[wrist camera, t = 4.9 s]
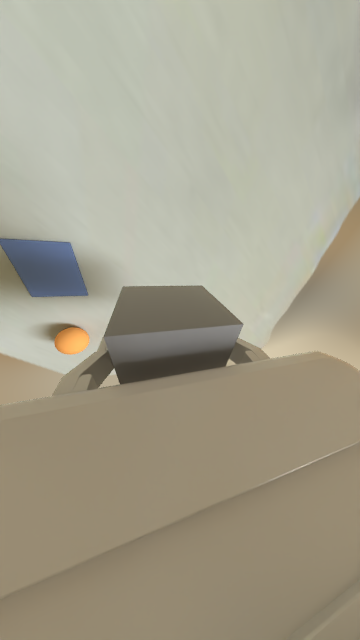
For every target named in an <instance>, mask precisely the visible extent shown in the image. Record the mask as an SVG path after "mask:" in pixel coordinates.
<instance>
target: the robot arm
mask: <svg viewBox="0 0 360 640" xmlns="http://www.w3.org/2000/svg"><path fill="white" fill-rule="evenodd" d="M229 359H230V360H231V361H233V362H234V363H235V364H237V365H231V366H225V367H219V368H213V369H208V370H202V371H196V372H190V373H184V374H179V375H173V376H167V377H161V378H155V379H149V380H144V381H138V382H132V383H126V384H120V385H115V386H109V387H103V388H98V387H99V386H100V384H102V382H103V381H104V380H105V379H106V377H107V376H108V375H109V374H110V373H111V371H112V370H113V369H114V365H113V362H112V360H111V357H110V354H109V351H108V348H107V345H106V342H105V340H104V337H103V338H102V341H101V343H100V346H99V348H98V351H97V352H94V353H93V354H92V355H91V356H89V357H88V358H87V359H85V360H84V361H83V362H82V363H80V364H79V365H78V366H76V367H75V368H74V369H73V370H71V371H70V372H69V373H67V374H66V375H65V376H64V377H62V379H61V381H60V382H59V384H58V386H57V388H56V389H55V391H54V393H53V395H52V396H51V397H45V398H39V399H33V400H28V401H22V402H16V403H10V404H5V405H0V640H360V371H359V370H358V369H357V368H355V367H353V366H352V365H350V364H348V363H347V362H344V361H342V360H340V359H338V358H335V357H333V356H330V355H328V354H325V353H321V352H318V351H312V352H307V353H301V354H295V355H289V356H283V357H277V358H272V359H270V358H269V357H268V356H267V355H266V354H265V353H264V352H263V351H262V350H261V349H260V348H258V347H256V346H254V345H252V344H250V343H248V342H246V341H244V340H242V339H239V338H237V341H236V343H235V346H234V348H233V350H232V353H231V355H230V357H229Z"/></svg>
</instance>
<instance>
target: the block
mask: <svg viewBox="0 0 360 640" xmlns="http://www.w3.org/2000/svg"><path fill="white" fill-rule="evenodd" d="M242 327H243V323H242V322H241V321H240V320H239V319H238V318H236V317H235V316H234V315H233V314H232V313H231V312H230V311H229V310H228V309H227V308H226V307H225V306H223V305H222V304H221V303H220V302H219V301H218V300H217V299H216V298H215V297H214V296H213V295H212V294H210V293H209V292H208V291H207V290H206V289H205V288H204V287H203V286H129V287H123V288H122V290H121V293H120V295H119V298H118V301H117V303H116V306H115V308H114V311H113V314H112V316H111V319H110V322H109V324H108V327H107V329H106V332H105V335H104V340H105V342H106V345H107V348H108V351H109V354H110V357H111V360H112V362H113V365H114V368H115V371H116V374H117V377H118V379H119V382H120V384H126V383H132V382H138V381H144V380H149V379H155V378H161V377H167V376H173V375H179V374H184V373H190V372H196V371H202V370H208V369H213V368H219V367H225V366H226V364H227V362H228V360H229V357H230V355H231V353H232V350H233V348H234V346H235V343H236V341H237V338H238V336H239V334H240V331H241V329H242Z"/></svg>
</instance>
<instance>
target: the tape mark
mask: <svg viewBox="0 0 360 640" xmlns="http://www.w3.org/2000/svg"><path fill="white" fill-rule="evenodd" d="M0 245H1V246H2V248H3V250H4V251H5V253H6V255H7V256H8V258H9V260H10V261H11V263H12V265H13V266H14V268H15V270H16V271H17V273H18V275H19V276H20V278H21V280H22V281H23V283H24V285H25V286H26V288H27V290H28V291H29V293H30V295H31V296H32V297H47V296H87V295H88V294H87V291H86V288H85V285H84V282H83V279H82V276H81V273H80V270H79V267H78V264H77V262H76V259H75V256H74V253H73V250H72V247H71V244H70V243H67V242H49V241H32V240H14V239H0Z"/></svg>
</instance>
